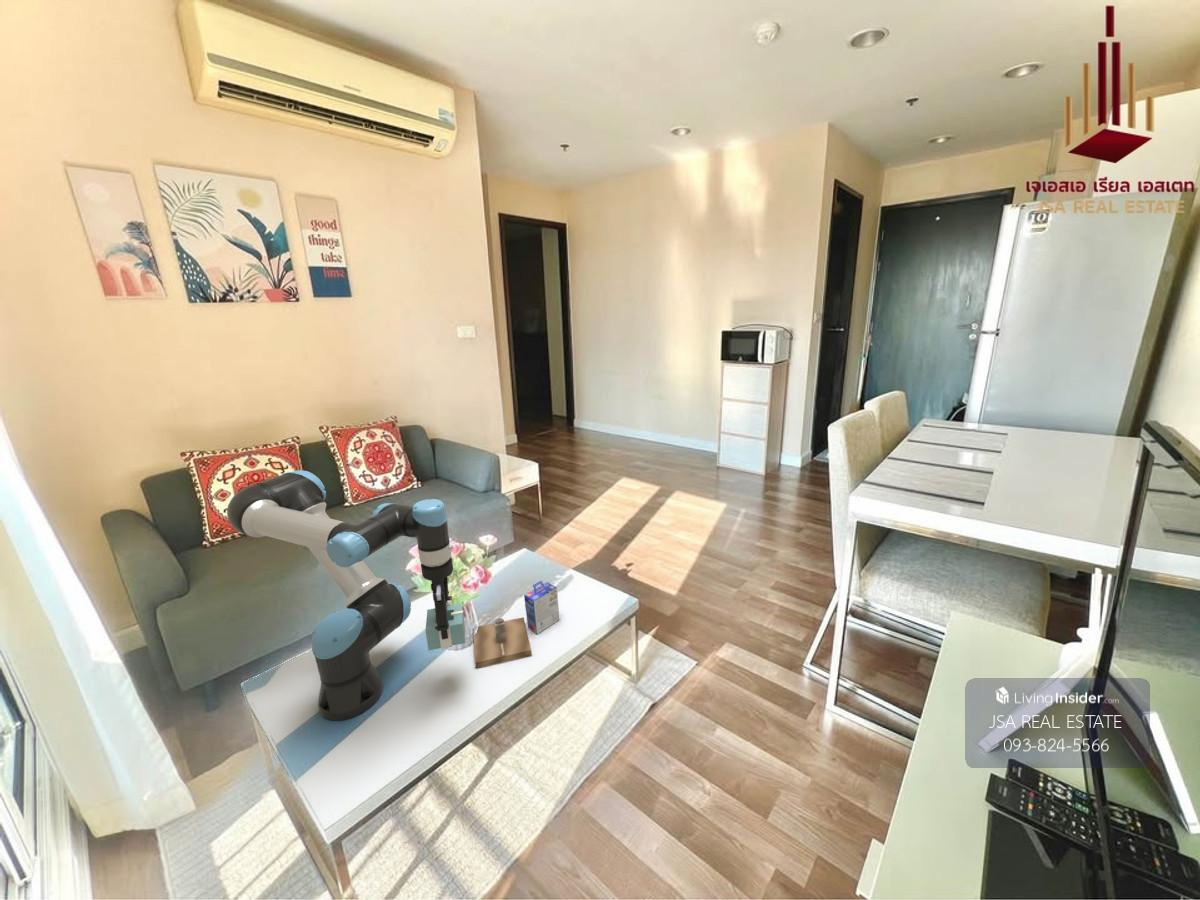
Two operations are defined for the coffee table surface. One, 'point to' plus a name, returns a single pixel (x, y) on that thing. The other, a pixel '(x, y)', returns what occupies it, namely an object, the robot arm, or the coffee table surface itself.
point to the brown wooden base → (501, 642)
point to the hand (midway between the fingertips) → (446, 634)
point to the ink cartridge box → (541, 607)
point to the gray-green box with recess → (454, 621)
